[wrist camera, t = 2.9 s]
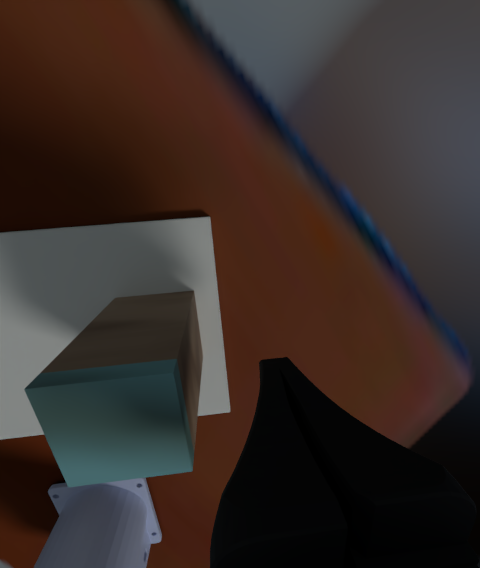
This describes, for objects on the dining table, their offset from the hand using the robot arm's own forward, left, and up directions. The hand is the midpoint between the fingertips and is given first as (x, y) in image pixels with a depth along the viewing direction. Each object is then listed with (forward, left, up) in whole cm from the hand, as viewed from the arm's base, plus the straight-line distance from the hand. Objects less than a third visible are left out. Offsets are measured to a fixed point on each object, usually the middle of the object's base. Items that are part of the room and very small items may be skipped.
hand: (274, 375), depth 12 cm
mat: (0, +11, -6) cm, 13 cm away
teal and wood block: (0, +6, -6) cm, 9 cm away
